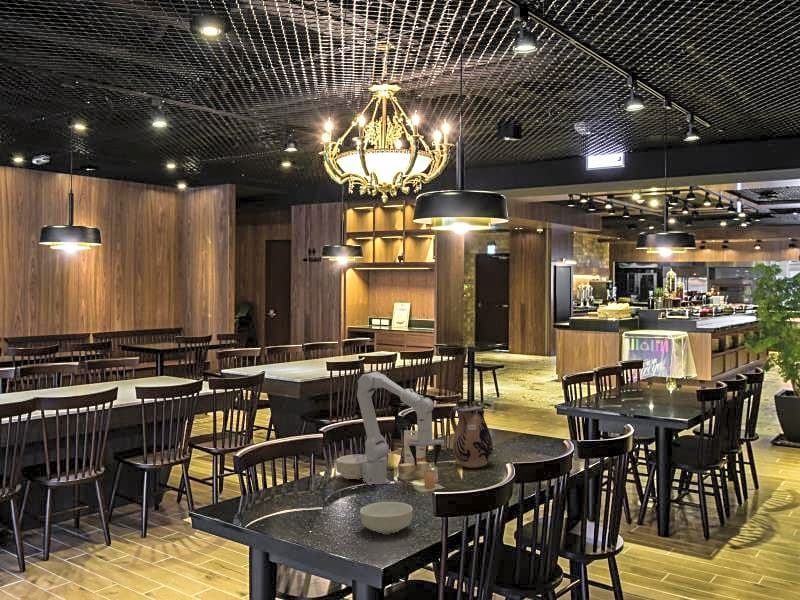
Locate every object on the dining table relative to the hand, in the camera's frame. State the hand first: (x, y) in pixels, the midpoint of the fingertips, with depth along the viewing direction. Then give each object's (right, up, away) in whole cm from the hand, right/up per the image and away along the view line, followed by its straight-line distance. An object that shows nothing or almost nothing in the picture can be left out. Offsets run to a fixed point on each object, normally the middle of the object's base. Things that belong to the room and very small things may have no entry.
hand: (425, 464), depth 279 cm
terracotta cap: (+1, -8, -3) cm, 9 cm away
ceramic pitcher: (+20, -8, +33) cm, 39 cm away
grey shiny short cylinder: (+3, -9, +6) cm, 11 cm away
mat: (+1, -9, -2) cm, 9 cm away
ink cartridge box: (-3, -9, +40) cm, 41 cm away
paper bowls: (-29, -10, +18) cm, 35 cm away
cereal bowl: (-14, -10, -49) cm, 52 cm away
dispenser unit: (-4, -9, +14) cm, 17 cm away
